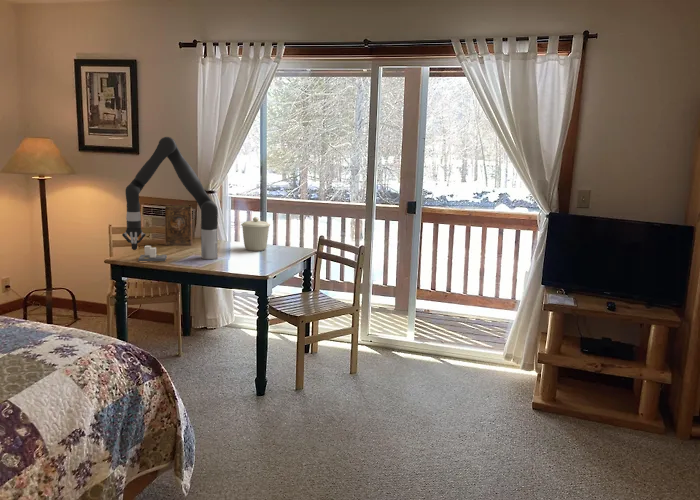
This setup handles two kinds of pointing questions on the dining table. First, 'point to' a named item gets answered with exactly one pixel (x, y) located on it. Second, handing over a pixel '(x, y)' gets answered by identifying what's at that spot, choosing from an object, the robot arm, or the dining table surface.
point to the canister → (255, 234)
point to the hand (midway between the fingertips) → (134, 249)
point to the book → (178, 225)
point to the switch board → (158, 258)
